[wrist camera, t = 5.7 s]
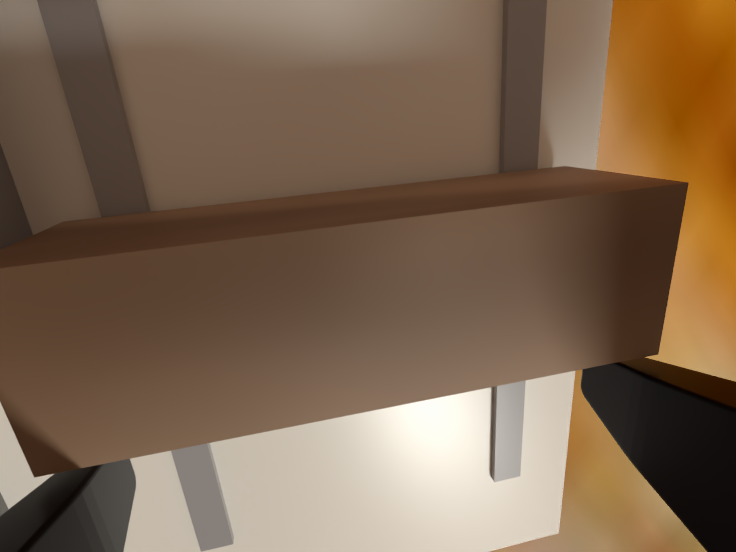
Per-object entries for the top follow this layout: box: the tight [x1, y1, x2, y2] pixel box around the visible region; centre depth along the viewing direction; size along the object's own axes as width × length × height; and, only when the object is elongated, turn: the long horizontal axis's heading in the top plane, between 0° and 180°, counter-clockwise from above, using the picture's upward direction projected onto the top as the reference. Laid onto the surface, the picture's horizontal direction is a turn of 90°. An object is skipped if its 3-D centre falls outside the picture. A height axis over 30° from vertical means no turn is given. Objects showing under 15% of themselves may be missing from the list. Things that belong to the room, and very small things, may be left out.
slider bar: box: [0, 166, 688, 478], centre depth 8 cm, size 3×10×3 cm, turn 95°
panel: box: [0, 0, 613, 552], centre depth 9 cm, size 20×20×4 cm
